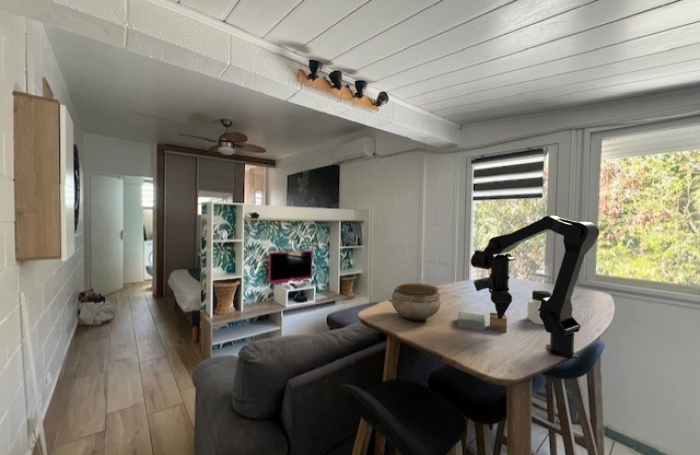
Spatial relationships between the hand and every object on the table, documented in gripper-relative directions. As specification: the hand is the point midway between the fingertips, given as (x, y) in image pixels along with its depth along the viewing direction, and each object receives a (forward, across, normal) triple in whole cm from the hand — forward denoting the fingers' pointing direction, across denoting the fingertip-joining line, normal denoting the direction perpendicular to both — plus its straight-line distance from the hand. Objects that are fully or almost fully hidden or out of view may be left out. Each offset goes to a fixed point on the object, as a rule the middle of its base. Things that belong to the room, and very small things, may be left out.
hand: (498, 314), depth 104 cm
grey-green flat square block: (+5, 0, -9) cm, 10 cm away
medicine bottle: (+5, -15, +16) cm, 23 cm away
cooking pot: (+5, +1, -30) cm, 30 cm away
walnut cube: (+5, 0, 0) cm, 5 cm away
